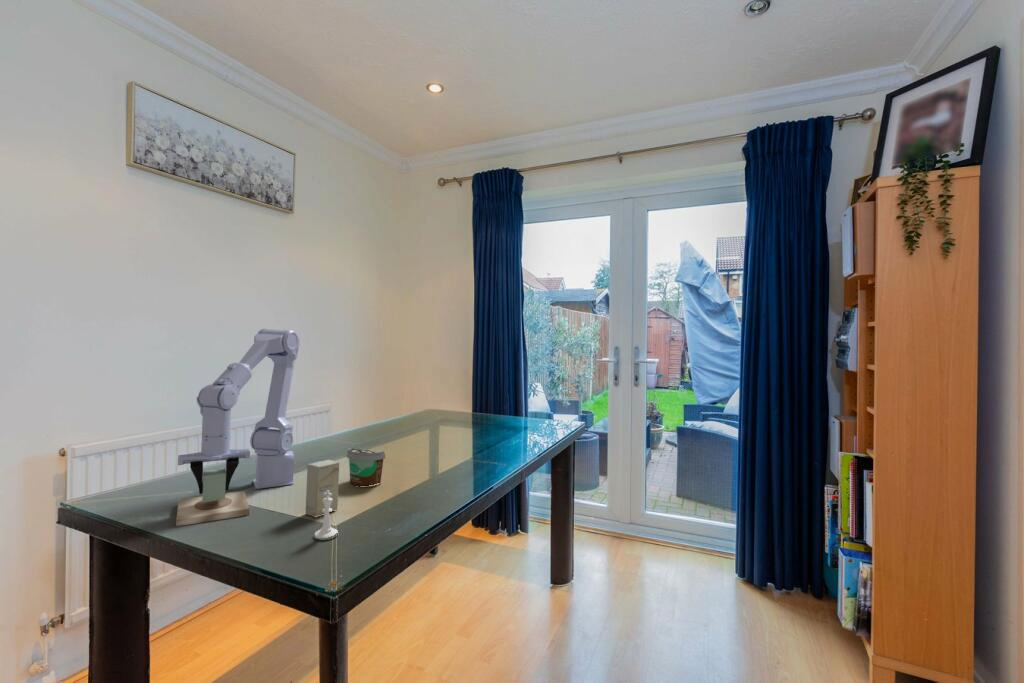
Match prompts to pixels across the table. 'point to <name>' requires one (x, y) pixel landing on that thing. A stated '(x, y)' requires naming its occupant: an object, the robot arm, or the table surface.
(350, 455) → the food container
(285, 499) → the table surface
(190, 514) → the display base
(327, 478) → the skincare box
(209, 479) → the green block
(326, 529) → the chess piece
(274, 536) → the table surface
